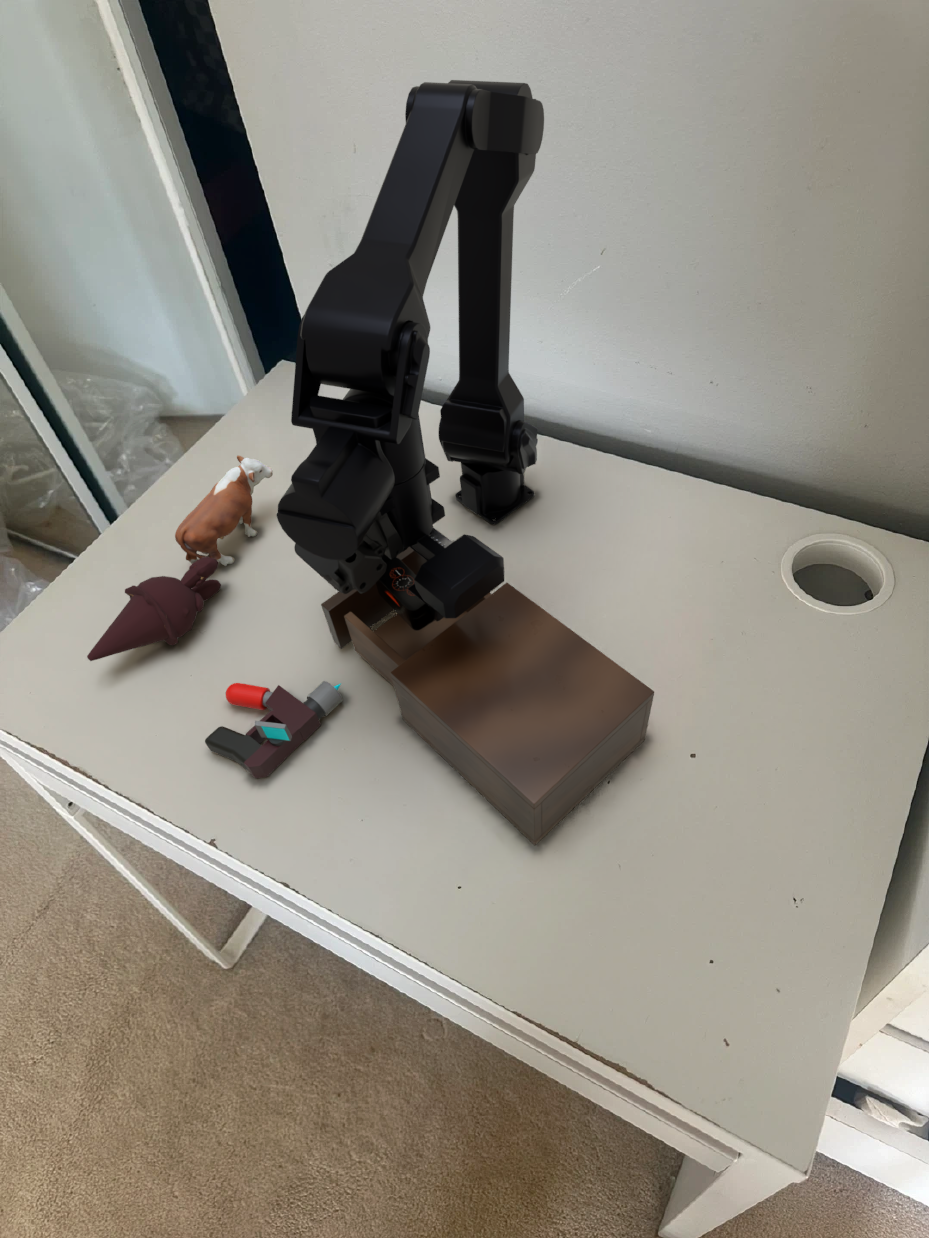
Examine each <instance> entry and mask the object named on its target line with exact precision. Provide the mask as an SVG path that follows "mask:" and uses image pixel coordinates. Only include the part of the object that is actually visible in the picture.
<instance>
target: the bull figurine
mask: <svg viewBox="0 0 929 1238" xmlns="http://www.w3.org/2000/svg"><path fill="white" fill-rule="evenodd" d="M236 459H237V461H238V462H239V463H240V464H239V465H237V466H235V467H232V468H230V469H228V470H227V471H226V473H225V474H224V476H223V477H222V478H221V479H220V480H219V481H217V482H216V483H215V484H214V485H213V487H212V489H211V490H210V491H209V492H208V494H206V495H205V497H204V498H203V499H202V500H201V501H200V502H199V503H198V504H197V505H196V507H195V508H194V509H193V510H192V511H190V512H189V513H188V515H186V516H185V518H183V520H182V522H180V524H179V525H178V527H177V529H176V531H175V533H174V539H175V540H176V542H177V544H178V545H179V546H180V548H181V550H182V551H183V552H185V553H186V555H185V560H186V561H188V562H189V563H190V564H191V565H192V564H193V563H194V562H196V561H197V560H199V559H200V558H203V557H210V558H214V559H216V560H217V561H218V563H220V564H221V565H222V566H225V567H226V566H228V565H232V564H234V563H235V561H236V559H235V557H233V556H230V555H224V554H222V553H221V552H220V551H219V548H218V540H219V539H220V540H223V539H224V538H225V537H227V536H229V535H230V534H231V533H233V532H234V531H235V529H236V528H237V527H238V525H242V524H243V525H244V528H245V531H244V534H245V535H247V537H249V538H250V537H256V536H257V535H258V531H257V530H256V529H254V528H253V527H252V515H253V496H252V495H253V493H254V489H255V487H256V486H257V485H259V484H260V483H261V482H262V480H264V479H271V478H272V476H273V472H274V471H273V468H272V467H271V466H270V465H266V464H264V463H263V462H261V461H260V460H258V459H256V458H250V457H243V456H242V455H237V456H236ZM198 552H199V553H201V554H199V553H198Z"/></svg>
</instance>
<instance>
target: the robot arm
mask: <svg viewBox="0 0 929 1238" xmlns="http://www.w3.org/2000/svg"><path fill="white" fill-rule="evenodd" d="M404 114H405V115H404V116H405V118H404V119H405V125H404V127H403V130H402V133H401V135H400V136H399V137H400V138H399V140H398V143H397V145H396V148H395V151H394V153H393V156H392V158H391V161H390V162H389V163H390V164H389V166H388V168H387V172H386V174H385V176H384V179H383V182H382V185H381V187H380V189H379V192H378V195H377V197H376V199H375V202H374V205H373V208H372V210H371V212H370V216H369V217H368V221H367V223H366V226H365V228H364V231H363V233H362V236H361V239H360V241H359V242H358V245H357V246H356V249H355V251H354V253H352V254H351V255H349V256H348V257H347V258H345V259H344V260H342V261H340V263H338V264H337V265H335V266H334V267H332V268H331V269H330V270H328V271H327V272H326V273H325V274H324V277H323V278H322V280H321V282H320V284H319V285H318V287H317V289H316V290H315V293H314V294H313V297H312V298H311V300H310V302H309V303H308V305H307V307H306V310H305V312H304V313H303V315H302V316H301V320H300V322H299V325H298V332H297V338H296V339H297V340H296V354H295V366H294V379H293V393H292V404H291V405H292V406H291V417H290V422H291V425H292V426H294V427H301V428H306V429H312V432H313V436H314V438H315V445H314V447H313V449H312V450H311V451H310V453H309V454H308V455H307V457H306V458H305V459H304V460H303V461H302V462H301V463H300V464H299V465H298V466H297V467H296V469H295V471H294V472H293V473H292V474H291V478H290V482H291V484H290V485H289V487H288V488H287V490H286V491H285V492H284V494H283V495H282V496H281V498H280V500H279V502H278V504H277V513H276V514H275V515H276V519H277V522H278V524H279V525H280V527H281V530H283V532H284V533H285V534H286V536H287V537H288V538H289V539H290V540H291V541H292V542H294V546H293V547H294V552H295V554H296V555H297V556H298V557H299V558H300V559H301V560H302V561H303V562H304V563H305V564H307V565H308V566H309V567H310V568H311V569H312V570H313V571H315V572H316V574H318V575H319V576H320V577H321V578H323V580H324V581H326V582H327V583H328V584H329V585H330V586H332V587H333V588H334V589H335V590H336V591H337V592H341V593H344V594H347V593H349V592H350V591H352V590H353V589H356V590H357V591H358V592H359V593H365V592H368V591H369V590H370V589H371V588H372V586H373V585H374V584H375V583H376V582H377V581H378V580H379V579H380V578H381V577H382V575H383V574H384V573H385V572H386V568H387V564H386V563H385V562H386V561H387V560H389V559H393V558H397V555H399V554H400V553H401V552H404V551H405V550H406V549H408V547H410V548H411V549H412V550H414V551H415V552H416V553H418V554H419V555H420V556H421V557H423V558H424V559H425V560H427V561H426V562H425V563H424V564H422V565H421V567H420V569H419V571H418V573H417V575H416V577H415V579H414V581H415V584H414V585H412V586H411V587H409V588H408V590H409V591H411V592H412V593H413V594H414V595H416V596H417V597H418V598H419V599H420V600H422V601H423V602H424V603H425V604H427V605H428V606H429V608H430V611H431V613H432V615H433V617H434V619H435V620H436V621H440V620H441V619H442V618H444V617H445V618H457V617H459V616H460V615H461V614H462V613H464V612H465V611H466V610H468V609H469V608H470V607H471V606H473V605H474V604H475V603H477V602H478V601H479V600H481V599H482V598H483V597H484V596H486V595H487V594H488V593H491V592H493V591H494V590H495V589H496V588H497V587H499V586H500V585H501V584H504V583H505V562H504V561H505V560H504V557H503V556H502V555H500V553H498V552H497V551H495V550H494V549H492V548H491V547H489V546H488V545H487V544H486V543H484V542H483V541H481V540H480V539H478V538H477V537H476V536H475V535H471V534H467V533H466V534H465V533H464V534H462V535H461V536H460V537H458V538H457V539H455V540H452V539H450V538H448V537H447V536H445V535H444V534H443V533H441V532H440V531H439V530H437V529H436V528H435V527H434V525H435V524H436V523H438V522H439V521H440V520H442V519H443V518H445V517H446V512H445V506H444V505H443V504H441V503H439V502H438V501H436V500H435V499H434V498H432V492H431V484H432V483H433V482H435V481H436V480H438V479H439V478H441V475H440V469H439V466H438V465H436V464H435V463H434V462H432V461H431V460H429V459H428V458H426V453H425V446H424V440H423V434H422V427H421V419H420V414H419V412H420V408H421V407H420V406H421V403H422V398H423V392H424V388H425V387H424V386H425V382H426V376H427V371H428V366H429V361H430V356H431V355H430V354H431V348H430V345H429V337H430V332H431V323H430V320H429V316H428V311H427V308H426V305H425V302H424V301H425V300H424V295H425V290H426V287H427V282H428V280H429V276H430V274H431V272H432V268H433V265H434V263H435V259H436V258H437V254H438V252H439V249H440V247H441V243H442V241H443V237H444V235H445V232H446V229H447V226H448V223H449V221H450V218H451V215H452V212H453V210H454V208H455V210H456V212H457V214H456V215H457V281H458V283H457V285H458V286H457V287H458V288H457V289H458V295H457V296H458V299H457V300H458V381H457V382H456V384H455V386H454V387H453V389H452V391H451V392H450V394H449V395H448V396H447V398H446V400H445V402H444V403H443V404H442V406H441V408H440V410H439V412H440V420H439V425H438V441H439V443H440V446H441V448H442V450H443V453H444V455H445V458H446V460H447V461H448V462H452V463H453V462H455V463H460V466H461V467H460V468H461V475H459V485H460V490H459V491H457V492H456V493H455V496H454V497H455V500H456V501H458V502H459V503H461V504H462V505H463V506H464V507H465V508H467V509H468V510H470V511H471V512H473V514H475V515H477V516H479V517H481V518H482V519H483V520H484V521H486V522H488V523H489V524H491V525H498V524H499V523H500V522H502V521H503V520H504V519H506V518H507V517H508V516H510V515H511V514H513V513H514V512H516V511H517V510H518V509H519V508H521V507H522V506H523V505H525V504H527V503H528V502H530V501H531V500H532V499H533V498H534V497H535V491H534V490H533V489H532V488H530V487H528V486H527V485H525V472H526V469H527V468H529V467H531V466H534V465H536V463H537V461H538V451H537V450H538V449H537V445H538V441H539V440H538V431H539V430H538V428H537V427H536V426H534V425H532V424H531V423H529V422H527V421H525V398H524V396H523V394H522V393H521V391H520V389H519V387H518V386H517V384H516V382H515V381H514V378H513V377H512V375H511V374H510V339H511V338H510V336H511V306H512V305H511V304H512V276H513V243H514V242H513V241H514V239H513V238H514V216H515V215H514V213H515V205H516V204H517V202H518V199H520V196H521V194H522V193H523V191H524V189H525V187H526V186H527V184H528V183H529V181H530V179H531V178H532V176H533V174H534V173H535V169H536V160H537V154H538V153H539V151H540V149H541V146H542V141H543V138H544V137H543V136H544V129H545V109H544V105H543V102H542V101H541V100H538V99H537V98H533V94H532V89H531V86H530V85H529V83H527V82H512V81H511V82H509V81H508V82H506V81H486V80H462V79H450V80H449V81H448V82H432V81H431V82H430V81H429V82H428V81H424V82H422V83H421V84H420V85H418V86H417V85H416V86H413V87H411V89H410V91H409V92H408V96H407V98H406V102H405V113H404ZM321 385H324V386H330V387H337V388H343V389H349V390H348V391H347V392H346V394H345V395H344V397H343V399H342V398H336V397H330V396H323V395H319V393H320V389H321Z"/></svg>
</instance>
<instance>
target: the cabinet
mask: <svg viewBox="0 0 929 1238" xmlns="http://www.w3.org/2000/svg"><path fill="white" fill-rule="evenodd" d="M390 673H391V677H392V681H393V684H394V686H393V689H394V692H395V696H396V699H397V704H398V706H399V710H400V714H401V716H402V720H403V721H404V722H405V723H406V724H407V725H408V726H409V727H410V728H411V729H412V730H413V731H414V732H415V733H416V734H417V735H419V736H420V738H422V740H424V741H425V742H426V743H427V744H428V745H429V746H430V747H431V748H432V749H433V750H434V751H435V752H437V754H439V756H441V757H442V758H443V759H444V761H445V762H447V763H448V764H449V765H450V766H451V767H452V768H453V769H454V770H455V771H456V772H457V773H458V774H459V775H461V776H462V777H463V779H464V780H466V782H468V783H469V785H471V786H472V787H473V788H474V789H475V790H476V791H477V792H478V793H479V794H480V795H481V796H483V798H484V799H485V800H486V801H487V802H489V803H490V804H491V805H492V806H493V807H494V808H495V809H496V810H497V811H498V812H499V813H500V814H501V815H502V816H504V818H506V820H508V822H509V823H511V825H513V827H515V828H516V829H517V830H518V831H519V832H520V833H521V834H522V835H524V836H525V837H526V838H527V840H529V842H531V843H532V844H533V845H534V846H536V845H538V843H539V842H540V841H542V839H544V837H545V836H546V835H547V834H549V833H550V832H551V831H552V830H553V829H554V828H555V827H556V826H557V825H558V824H559V823H560V822H561V821H562V820H563V819H564V818H565V817H566V816H567V815H568V814H569V813H570V812H572V811H573V810H574V809H575V808H576V807H577V805H579V804H580V803H581V802H582V801H583V800H584V799H585V798H586V797H587V796H588V795H589V794H590V793H591V792H592V791H593V790H594V789H595V788H596V787H598V786H599V785H600V783H601V782H603V781H604V780H605V778H607V777H608V776H609V775H610V774H611V773H612V772H613V771H614V770H615V769H616V768H617V767H618V766H619V765H620V764H621V763H622V762H623V761H624V760H626V759H627V757H628V756H630V755H631V754H632V753H633V752H634V751H635V750H636V749H638V747H639V746H640V745H641V744H642V743H643V742H644V741H645V740H646V737H647V736H646V735H647V730H648V725H649V721H650V717H651V710H652V707H653V702H654V696H655V691H654V690H653V689H652V688H650V687H649V686H648V685H646V684H645V683H644V682H642V681H641V680H639V679H638V678H637V677H636V676H634V675H633V674H631V672H629V671H628V670H626V669H625V668H624V667H622V666H621V665H620V664H618V663H616V662H615V661H614V660H612V658H610V657H609V656H608V655H606V654H604V653H603V652H601V650H599V649H598V648H596V647H595V646H594V645H592V644H591V643H590V642H589V641H587V640H586V639H584V638H583V637H581V636H580V635H579V634H578V633H576V632H575V631H574V630H572V629H571V628H569V627H568V626H567V625H566V624H564V623H563V622H561V621H560V620H559V619H557V618H556V617H555V616H553V615H552V614H551V613H549V612H548V611H547V610H546V609H544V608H543V607H542V606H540V605H538V604H537V602H534V601H533V600H531V598H529V597H528V596H526V595H525V594H523V593H522V592H521V591H520V590H518V589H517V588H516V587H514V586H512V584H510V583H509V582H504V583H503V584H502V585H501V586H500V587H499V588H498V589H496V590H495V591H493V592H492V593H491V595H490V596H489V597H487V598H486V599H485V600H483V601H482V602H481V603H479V604H478V605H477V606H476V607H474V608H473V609H472V610H470V611H469V612H468V613H466V614H465V615H464V616H463V617H461V618H460V619H459V620H457V621H456V622H455V623H454V624H452V625H451V626H450V627H448V628H447V629H446V630H444V631H443V632H442V633H441V634H439V635H438V636H437V637H435V638H434V639H433V640H431V641H430V642H429V643H428V644H426V645H425V646H424V647H422V648H421V649H420V650H418V651H417V652H416V653H415V654H413V655H412V656H411V657H409V658H408V659H407V660H406V661H404V662H403V663H402V664H400V665H399V666H398V667H396V668H395V669H394V670H393V671H391V672H390Z"/></svg>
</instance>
